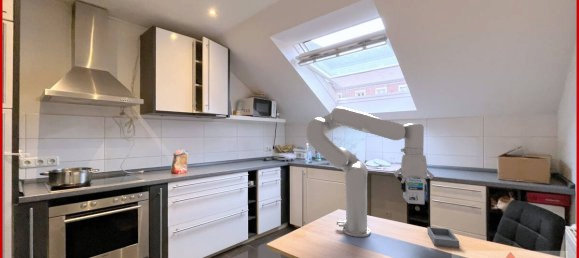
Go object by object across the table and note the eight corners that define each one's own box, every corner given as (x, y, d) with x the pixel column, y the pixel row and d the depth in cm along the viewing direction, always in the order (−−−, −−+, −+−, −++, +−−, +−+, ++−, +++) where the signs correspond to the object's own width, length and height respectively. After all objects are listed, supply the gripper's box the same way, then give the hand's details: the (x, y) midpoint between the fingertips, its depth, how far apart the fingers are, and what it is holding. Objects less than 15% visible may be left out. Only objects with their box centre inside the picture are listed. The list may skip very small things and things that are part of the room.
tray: (434, 245, 109) (434, 238, 109) (427, 233, 122) (427, 226, 122) (459, 248, 107) (459, 241, 107) (449, 235, 119) (449, 228, 119)
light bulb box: (424, 204, 110) (425, 179, 110) (407, 203, 111) (408, 178, 111) (417, 197, 121) (418, 174, 120) (402, 196, 122) (402, 173, 122)
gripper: (393, 151, 114) (392, 192, 115) (438, 153, 110) (437, 196, 110) (391, 150, 122) (391, 188, 122) (433, 151, 117) (433, 191, 117)
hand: (413, 191), depth 116 cm, fingers closed on light bulb box, 7 cm apart
